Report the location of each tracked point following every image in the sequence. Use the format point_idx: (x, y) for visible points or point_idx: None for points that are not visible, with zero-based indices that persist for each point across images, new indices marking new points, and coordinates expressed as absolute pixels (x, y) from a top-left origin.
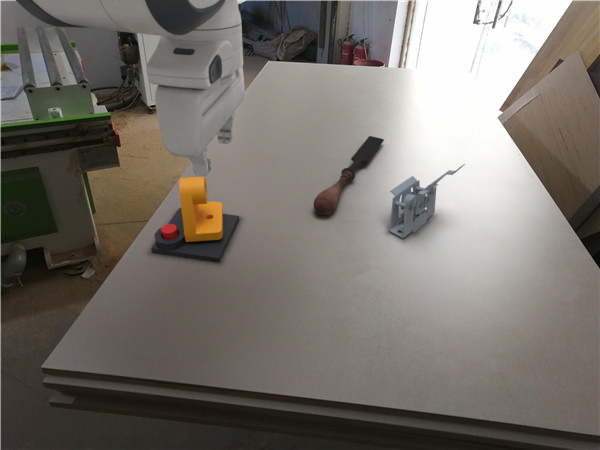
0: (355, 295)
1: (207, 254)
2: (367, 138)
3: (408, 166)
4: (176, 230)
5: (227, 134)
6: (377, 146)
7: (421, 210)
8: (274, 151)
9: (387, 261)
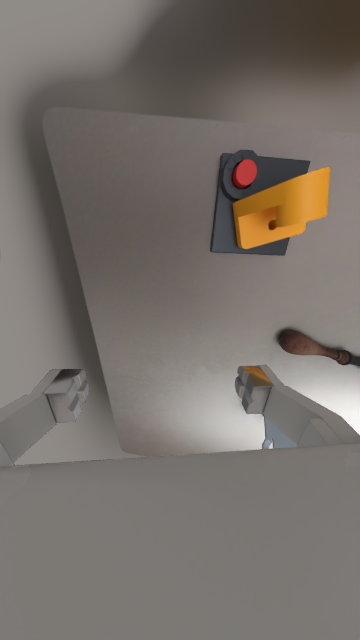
0: (184, 366)
1: (216, 237)
2: None
3: (351, 397)
4: (244, 185)
5: (246, 405)
6: None
7: None
8: None
9: (221, 383)
